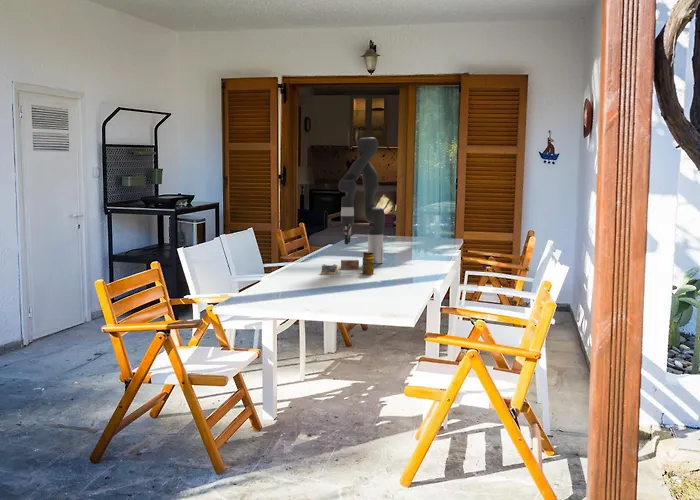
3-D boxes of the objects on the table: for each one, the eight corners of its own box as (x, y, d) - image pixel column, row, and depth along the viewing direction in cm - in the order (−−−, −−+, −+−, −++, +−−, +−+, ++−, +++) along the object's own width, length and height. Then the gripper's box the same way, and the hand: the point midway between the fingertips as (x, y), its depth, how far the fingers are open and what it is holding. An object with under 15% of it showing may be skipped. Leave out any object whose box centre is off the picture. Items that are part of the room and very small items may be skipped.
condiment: (376, 274, 379) (376, 252, 377) (364, 275, 374) (364, 253, 373) (369, 272, 385) (369, 251, 383) (356, 273, 380) (356, 252, 379)
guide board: (340, 267, 402) (340, 260, 401) (335, 273, 380) (335, 265, 379) (326, 267, 402) (326, 259, 402) (320, 273, 381) (320, 265, 380)
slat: (358, 268, 399) (358, 260, 399) (358, 269, 397) (358, 260, 396) (341, 268, 401) (341, 259, 400) (340, 269, 398) (340, 260, 397)
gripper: (352, 216, 388) (352, 244, 390) (355, 214, 402) (355, 242, 404) (339, 215, 389) (339, 244, 391) (342, 214, 403) (342, 241, 405)
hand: (347, 243), depth 397 cm, fingers open, 8 cm apart
